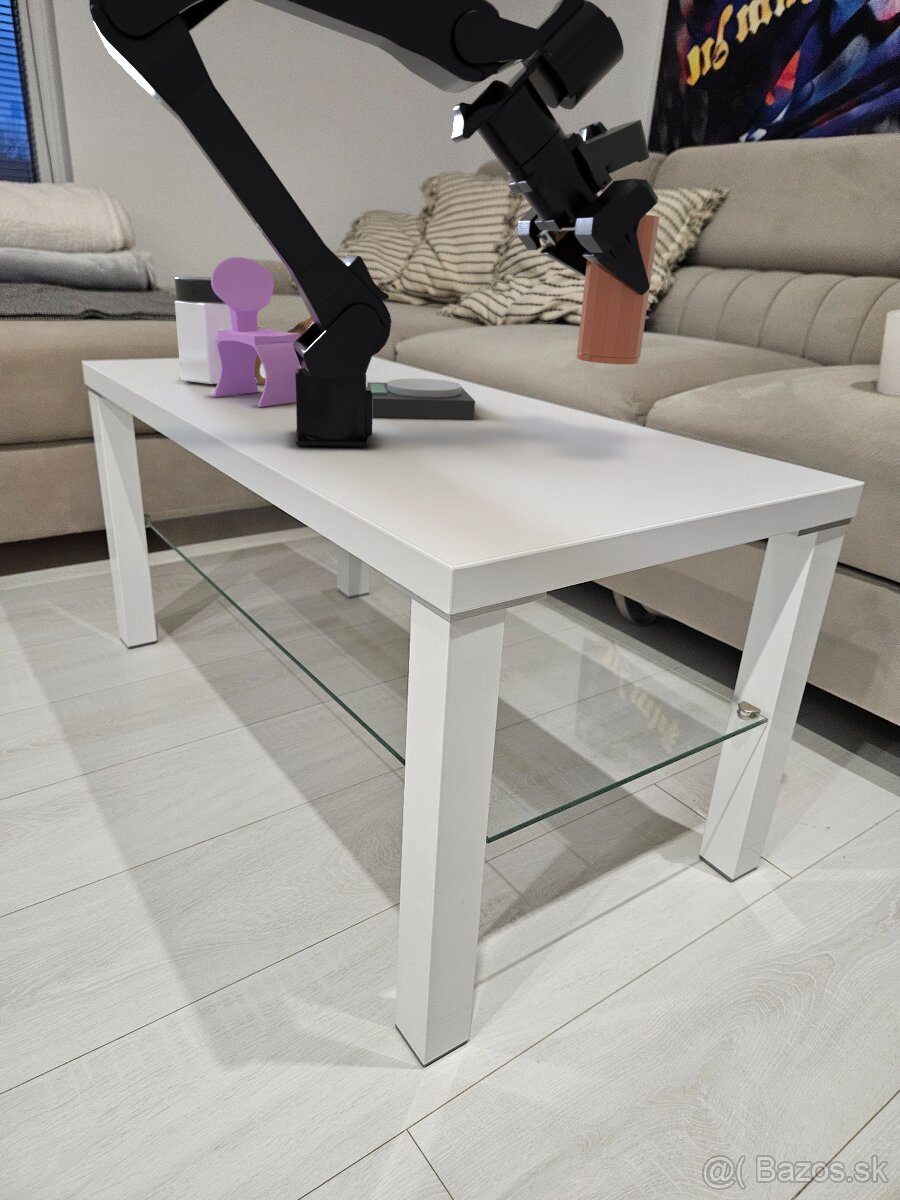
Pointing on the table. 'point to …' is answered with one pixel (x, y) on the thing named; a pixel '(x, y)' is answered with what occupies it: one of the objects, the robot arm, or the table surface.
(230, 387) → the toy chair
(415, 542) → the table surface
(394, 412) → the scale
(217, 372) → the jar
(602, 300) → the cup
